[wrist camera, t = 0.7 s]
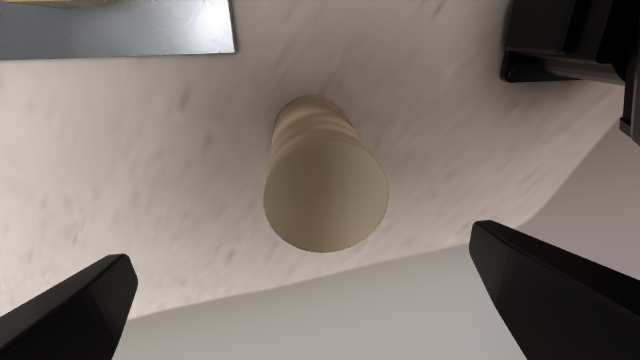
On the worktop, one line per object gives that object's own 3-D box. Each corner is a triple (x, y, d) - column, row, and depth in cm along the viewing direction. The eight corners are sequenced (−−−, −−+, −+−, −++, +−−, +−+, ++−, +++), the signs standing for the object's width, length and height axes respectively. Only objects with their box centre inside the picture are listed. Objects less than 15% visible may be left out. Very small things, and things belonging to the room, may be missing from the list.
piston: (349, 93, 19) (393, 138, 11) (348, 166, 21) (385, 247, 13) (270, 97, 19) (256, 145, 11) (276, 170, 21) (269, 257, 13)
